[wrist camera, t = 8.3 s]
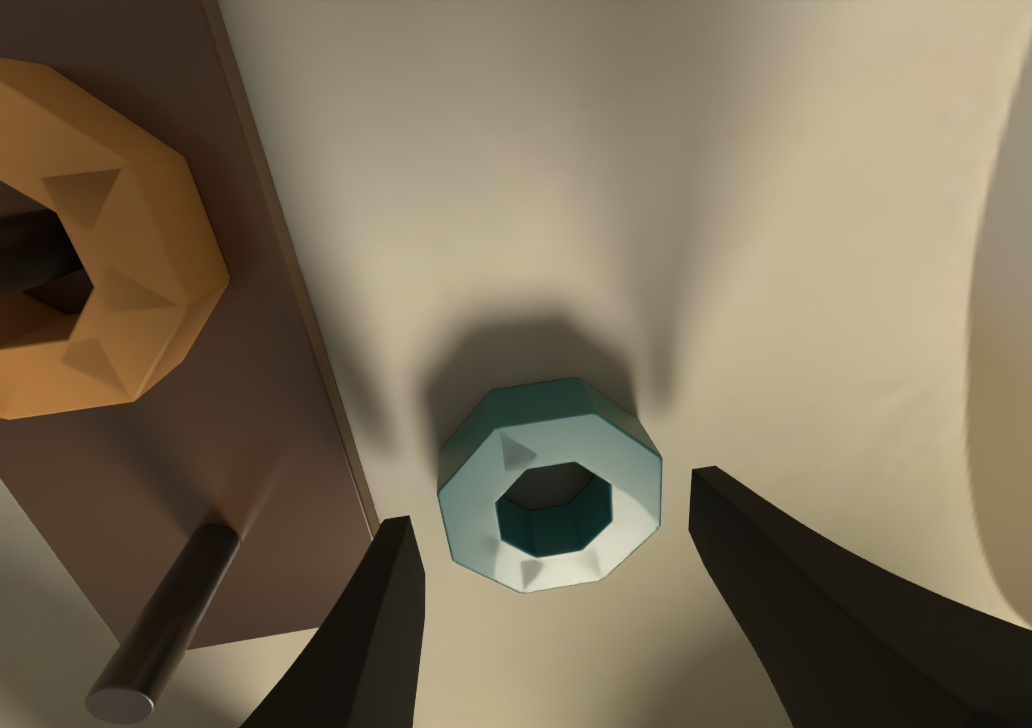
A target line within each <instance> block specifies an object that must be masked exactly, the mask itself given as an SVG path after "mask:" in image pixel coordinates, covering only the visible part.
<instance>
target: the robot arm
mask: <svg viewBox="0 0 1032 728" xmlns="http://www.w3.org/2000/svg"><path fill="white" fill-rule="evenodd" d="M688 530H689V532H690V534H691V537H692V539H693V541H694V544H695V546H696V548H697V551H698V553H699V555H700V557H701V559H702V562H703V564H704V566H705V568H706V570H707V571H708V573H709V575H710V576H711V578H712V580H713V582H714V583H715V585H716V587H717V588H718V590H719V592H720V593H721V595H722V597H723V598H724V600H725V602H726V603H727V605H728V607H729V608H730V610H731V612H732V613H733V615H734V617H735V618H736V620H737V622H738V623H739V625H740V627H741V628H742V630H743V632H744V633H745V635H746V636H747V638H748V640H749V641H750V643H751V645H752V646H753V648H754V650H755V651H756V653H757V655H758V657H759V659H760V660H761V662H762V664H763V666H764V668H765V670H766V671H767V673H768V675H769V677H770V680H771V682H772V684H773V686H774V688H775V690H776V692H777V694H778V696H779V698H780V700H781V702H782V704H783V706H784V708H785V710H786V712H787V714H788V717H789V719H790V721H791V723H792V725H793V727H794V728H1032V630H1029V629H1026V628H1023V627H1020V626H1017V625H1015V624H1012V623H1009V622H1007V621H1004V620H1001V619H999V618H996V617H994V616H991V615H988V614H986V613H983V612H980V611H978V610H975V609H973V608H970V607H968V606H965V605H963V604H960V603H958V602H955V601H953V600H951V599H948V598H946V597H943V596H941V595H939V594H937V593H934V592H932V591H930V590H928V589H925V588H923V587H921V586H919V585H916V584H914V583H912V582H910V581H907V580H905V579H903V578H901V577H899V576H897V575H895V574H893V573H891V572H888V571H886V570H884V569H883V568H881V567H879V566H877V565H875V564H873V563H871V562H869V561H867V560H865V559H863V558H861V557H859V556H857V555H855V554H853V553H852V552H850V551H848V550H846V549H844V548H842V547H841V546H839V545H837V544H835V543H834V542H832V541H830V540H829V539H827V538H825V537H823V536H822V535H820V534H818V533H817V532H815V531H813V530H812V529H810V528H808V527H807V526H805V525H803V524H802V523H800V522H799V521H797V520H795V519H794V518H792V517H791V516H789V515H788V514H786V513H785V512H783V511H782V510H780V509H778V508H777V507H775V506H774V505H772V504H771V503H769V502H768V501H766V500H765V499H763V498H762V497H761V496H759V495H758V494H756V493H755V492H753V491H752V490H750V489H749V488H747V487H746V486H745V485H743V484H742V483H740V482H739V481H737V480H736V479H734V478H733V477H731V476H730V475H729V474H727V473H726V472H724V471H723V470H721V469H720V468H718V467H717V466H710V467H704V468H698V469H692V479H691V495H690V512H689V528H688ZM424 620H425V572H424V568H423V564H422V560H421V557H420V553H419V549H418V546H417V542H416V538H415V534H414V531H413V527H412V523H411V520H410V516H409V515H408V516H402V517H396V518H390V519H385V520H384V521H383V522H382V523H381V525H380V527H379V529H378V531H377V533H376V535H375V536H374V538H373V540H372V542H371V544H370V546H369V548H368V550H367V551H366V553H365V555H364V557H363V559H362V560H361V562H360V564H359V566H358V567H357V569H356V571H355V572H354V574H353V576H352V577H351V579H350V581H349V582H348V584H347V586H346V587H345V589H344V591H343V592H342V594H341V596H340V597H339V599H338V600H337V602H336V603H335V605H334V606H333V608H332V609H331V611H330V612H329V614H328V615H327V617H326V618H325V620H324V621H323V623H322V624H321V626H320V627H319V629H318V630H317V632H316V633H315V635H314V636H313V637H312V639H311V640H310V642H309V643H308V644H307V646H306V647H305V648H304V650H303V651H302V653H301V654H300V655H299V656H298V658H297V659H296V660H295V662H294V663H293V664H292V666H291V667H290V668H289V669H288V671H287V672H286V673H285V675H284V676H283V677H282V678H281V679H280V681H279V682H278V683H277V684H276V685H275V687H274V688H273V689H272V690H271V691H270V693H269V694H268V695H267V696H266V697H265V699H264V700H263V701H262V702H261V703H260V705H259V706H258V707H257V708H256V709H255V710H254V711H253V713H252V714H251V715H250V716H249V717H248V718H247V719H246V720H245V722H244V723H243V724H242V725H241V726H240V727H239V728H413V716H414V707H415V698H416V690H417V681H418V673H419V664H420V656H421V647H422V638H423V630H424Z"/></svg>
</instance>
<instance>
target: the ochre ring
mask: <svg viewBox="0 0 1032 728" xmlns="http://www.w3.org/2000/svg"><path fill="white" fill-rule="evenodd" d="M0 180H1V181H2V182H4V183H6V184H7V185H9V186H11V187H13V188H14V189H16V190H18V191H20V192H21V193H23V194H25V195H27V196H28V197H30V198H32V199H34V200H35V201H37V202H39V203H40V204H42V205H44V206H46V207H47V208H49V209H51V210H53V211H54V212H56V213H57V215H58V217H59V219H60V221H61V223H62V225H63V227H64V229H65V230H66V232H67V234H68V236H69V238H70V240H71V242H72V244H73V246H74V248H75V250H76V252H77V254H78V256H79V258H80V260H81V262H82V264H83V266H84V268H85V270H86V272H87V274H88V276H89V278H90V280H91V282H92V284H93V286H94V288H93V290H92V292H91V294H90V296H89V298H88V300H87V302H86V304H85V306H84V308H83V310H82V312H81V313H78V314H71V315H66V314H64V313H62V312H60V311H58V310H56V309H54V308H52V307H50V306H48V305H46V304H44V303H42V302H40V301H38V300H36V299H35V298H33V297H31V296H29V295H27V294H25V293H23V292H20V293H17V294H14V295H12V296H9V297H6V298H4V299H1V300H0V418H3V419H8V420H10V419H17V418H24V417H31V416H38V415H45V414H52V413H59V412H66V411H72V410H79V409H86V408H93V407H100V406H107V405H114V404H121V403H128V402H134V401H136V400H137V399H138V398H139V397H141V396H142V395H143V394H144V393H145V392H147V391H148V390H149V389H150V388H151V387H152V386H154V385H155V384H156V383H157V382H158V381H160V380H161V379H162V378H163V377H164V376H166V375H167V374H168V373H169V372H170V371H171V370H173V369H174V368H175V367H176V366H177V365H179V364H180V363H181V362H182V361H183V360H184V358H185V356H186V355H187V353H188V351H189V350H190V348H191V346H192V345H193V343H194V341H195V340H196V338H197V336H198V334H199V333H200V331H201V329H202V328H203V326H204V324H205V323H206V321H207V319H208V318H209V316H210V314H211V312H212V311H213V309H214V307H215V306H216V304H217V302H218V301H219V299H220V297H221V296H222V294H223V292H224V290H225V289H226V287H227V285H228V284H229V279H230V275H229V272H228V270H227V267H226V264H225V262H224V259H223V256H222V254H221V251H220V249H219V246H218V243H217V241H216V238H215V235H214V233H213V230H212V227H211V225H210V222H209V219H208V217H207V214H206V211H205V209H204V206H203V203H202V201H201V198H200V195H199V193H198V190H197V188H196V185H195V182H194V180H193V177H192V174H191V172H190V169H189V166H188V164H187V161H186V159H185V158H184V157H183V155H181V154H180V153H178V152H177V151H175V150H174V149H172V148H171V147H169V146H168V145H166V144H165V143H163V142H162V141H160V140H159V139H157V138H156V137H154V136H153V135H151V134H150V133H148V132H147V131H145V130H144V129H142V128H141V127H139V126H138V125H136V124H135V123H133V122H132V121H130V120H129V119H127V118H126V117H124V116H123V115H121V114H120V113H118V112H117V111H115V110H114V109H112V108H111V107H109V106H108V105H106V104H105V103H103V102H102V101H100V100H99V99H97V98H96V97H94V96H93V95H91V94H90V93H88V92H87V91H85V90H84V89H82V88H81V87H79V86H78V85H76V84H75V83H73V82H72V81H70V80H69V79H67V78H66V77H64V76H63V75H61V74H60V73H58V72H57V71H55V70H54V69H52V68H51V67H49V66H47V65H43V64H38V63H31V62H25V61H19V60H12V59H6V58H0Z"/></svg>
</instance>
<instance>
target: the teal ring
mask: <svg viewBox="0 0 1032 728" xmlns="http://www.w3.org/2000/svg"><path fill="white" fill-rule="evenodd" d="M570 462H576V463H578V464H579V465H581V466H582V467H584V468H586V469H587V470H589V471H590V472H592V473H594V479H593V480H592V481H591V482H590V483H589V484H588V485H587V486H586V487H585V488H584V489H583V490H582V491H581V492H580V493H579V494H578V495H577V496H576V497H575V498H574V499H573V500H572V501H571V502H570V503H569V504H568V505H563V506H557V507H551V508H545V509H538V510H532V511H527V510H525V509H523V508H521V507H519V506H518V505H516V504H514V503H512V502H510V501H509V500H507V499H505V498H503V497H501V496H502V495H503V494H504V493H505V492H506V491H507V490H508V489H509V488H510V487H511V485H512V484H513V483H514V482H515V481H516V480H517V479H518V478H519V477H520V476H521V475H522V474H523V473H524V471H525V470H526V469H532V468H539V467H545V466H551V465H558V464H564V463H570ZM661 493H662V457H661V455H660V453H659V451H658V450H657V448H656V447H655V445H654V443H653V442H652V440H651V439H650V437H649V435H648V434H647V432H646V431H645V429H644V427H643V426H642V424H641V423H640V421H639V420H638V419H637V418H636V417H634V416H633V415H631V414H630V413H628V412H627V411H626V410H624V409H623V408H621V407H620V406H619V405H617V404H616V403H614V402H613V401H612V400H610V399H609V398H607V397H606V396H604V395H603V394H602V393H600V392H599V391H597V390H596V389H595V388H593V387H592V386H590V385H589V384H588V383H586V382H585V381H583V380H582V379H578V378H571V379H564V380H558V381H551V382H544V383H538V384H531V385H524V386H518V387H511V388H504V389H497V390H493V391H490V392H489V393H488V394H487V395H486V396H485V398H484V399H483V400H482V401H481V402H480V404H479V405H478V406H477V407H476V408H475V409H474V411H473V412H472V413H471V414H470V415H469V417H468V418H467V419H466V420H465V421H464V422H463V424H462V425H461V426H460V427H459V428H458V430H457V431H456V432H455V433H454V434H453V435H452V437H451V438H450V439H449V440H448V441H447V443H446V444H445V445H444V446H443V447H442V448H441V450H440V452H439V465H438V483H437V497H438V501H439V505H440V510H441V514H442V518H443V523H444V527H445V531H446V536H447V540H448V544H449V548H450V553H451V557H452V560H453V561H454V562H456V563H457V564H459V565H462V566H464V567H466V568H468V569H470V570H472V571H474V572H476V573H478V574H481V575H483V576H485V577H487V578H489V579H491V580H493V581H495V582H497V583H500V584H502V585H504V586H506V587H508V588H510V589H512V590H514V591H517V592H519V593H521V592H522V593H530V592H536V591H542V590H547V589H553V588H559V587H565V586H571V585H577V584H583V583H588V582H594V581H600V580H602V579H604V578H605V577H606V576H607V575H609V574H610V573H611V572H612V571H613V570H614V569H615V568H616V567H617V566H618V565H620V564H621V563H622V562H623V561H624V560H625V559H626V558H627V557H628V556H629V555H631V554H632V553H633V552H634V551H635V550H636V549H637V548H638V547H639V546H640V545H641V544H643V543H644V542H645V541H646V540H647V539H648V538H649V537H650V536H651V535H652V534H654V533H655V532H656V531H657V530H658V529H659V527H660V526H661Z"/></svg>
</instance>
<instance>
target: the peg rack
mask: <svg viewBox="0 0 1032 728" xmlns="http://www.w3.org/2000/svg"><path fill="white" fill-rule="evenodd" d="M0 58H6V59H12V60H19V61H25V62H31V63H38V64H43V65H47V66H49V67H51V68H52V69H54V70H55V71H57V72H58V73H60V74H61V75H63V76H64V77H66V78H67V79H69V80H70V81H72V82H73V83H75V84H76V85H78V86H79V87H81V88H82V89H84V90H85V91H87V92H88V93H90V94H91V95H93V96H94V97H96V98H97V99H99V100H100V101H102V102H103V103H105V104H106V105H108V106H109V107H111V108H112V109H114V110H115V111H117V112H118V113H120V114H121V115H123V116H124V117H126V118H127V119H129V120H130V121H132V122H133V123H135V124H136V125H138V126H139V127H141V128H142V129H144V130H145V131H147V132H148V133H150V134H151V135H153V136H154V137H156V138H157V139H159V140H160V141H162V142H163V143H165V144H166V145H168V146H169V147H171V148H172V149H174V150H175V151H177V152H178V153H180V154H181V155H183V157H184V158H185V159H186V161H187V164H188V166H189V169H190V172H191V174H192V177H193V180H194V182H195V185H196V188H197V190H198V193H199V195H200V198H201V201H202V203H203V206H204V209H205V211H206V214H207V217H208V219H209V222H210V225H211V227H212V230H213V233H214V235H215V238H216V241H217V243H218V246H219V249H220V251H221V254H222V256H223V259H224V262H225V264H226V267H227V270H228V272H229V275H230V279H229V284H228V285H227V287H226V289H225V290H224V292H223V294H222V296H221V297H220V299H219V301H218V302H217V304H216V306H215V307H214V309H213V311H212V312H211V314H210V316H209V318H208V319H207V321H206V323H205V324H204V326H203V328H202V329H201V331H200V333H199V334H198V336H197V338H196V340H195V341H194V343H193V345H192V346H191V348H190V350H189V351H188V353H187V355H186V356H185V358H184V360H183V361H182V362H181V363H180V364H179V365H177V366H176V367H175V368H174V369H173V370H171V371H170V372H169V373H168V374H167V375H166V376H164V377H163V378H162V379H161V380H160V381H158V382H157V383H156V384H155V385H154V386H152V387H151V388H150V389H149V390H148V391H147V392H145V393H144V394H143V395H142V396H141V397H139V398H138V399H137V400H136V401H134V402H128V403H121V404H114V405H107V406H100V407H93V408H86V409H79V410H72V411H66V412H59V413H52V414H45V415H38V416H31V417H24V418H17V419H10V420H8V419H3V418H0V478H1V480H2V481H3V483H4V484H5V485H6V487H7V488H8V489H9V491H10V492H11V494H12V495H13V496H14V498H15V499H16V500H17V502H18V503H19V505H20V506H21V507H22V509H23V510H24V512H25V513H26V514H27V516H28V517H29V518H30V520H31V521H32V523H33V524H34V525H35V527H36V528H37V529H38V531H39V532H40V534H41V535H42V536H43V538H44V539H45V540H46V542H47V543H48V545H49V546H50V547H51V549H52V550H53V552H54V553H55V554H56V556H57V557H58V558H59V560H60V561H61V563H62V564H63V565H64V567H65V568H66V569H67V571H68V572H69V574H70V575H71V576H72V578H73V579H74V580H75V582H76V583H77V585H78V586H79V587H80V589H81V590H82V592H83V593H84V594H85V596H86V597H87V598H88V600H89V601H90V603H91V604H92V605H93V607H94V608H95V609H96V611H97V612H98V614H99V615H100V616H101V618H102V619H103V620H104V622H105V623H106V625H107V626H108V627H109V629H110V630H111V632H112V633H113V634H114V636H115V637H116V638H117V640H118V641H119V643H120V646H119V647H118V649H117V650H116V652H115V653H114V655H113V656H112V658H111V659H110V661H109V662H108V664H107V665H106V667H105V669H104V670H103V672H102V673H101V675H100V676H99V678H98V679H97V681H96V682H95V684H94V685H93V687H92V688H91V690H90V691H89V693H88V694H87V696H86V700H85V707H86V709H87V710H88V712H89V713H90V714H91V715H93V716H94V717H96V718H98V719H100V720H102V721H105V722H108V723H113V724H134V723H138V722H141V721H144V720H146V719H147V718H149V717H150V716H151V715H152V714H153V713H154V711H155V710H156V708H157V706H158V704H159V702H160V700H161V698H162V696H163V694H164V692H165V690H166V688H167V687H168V685H169V683H170V681H171V679H172V677H173V675H174V673H175V671H176V669H177V667H178V665H179V663H180V662H181V660H182V658H183V656H184V654H185V652H186V650H190V649H196V648H202V647H208V646H213V645H219V644H225V643H231V642H237V641H243V640H249V639H254V638H260V637H266V636H272V635H278V634H284V633H290V632H296V631H301V630H307V629H313V628H319V627H320V626H321V624H322V623H323V621H324V620H325V618H326V617H327V615H328V614H329V612H330V611H331V609H332V608H333V606H334V605H335V603H336V602H337V600H338V599H339V597H340V596H341V594H342V592H343V591H344V589H345V587H346V586H347V584H348V582H349V581H350V579H351V577H352V576H353V574H354V572H355V571H356V569H357V567H358V566H359V564H360V562H361V560H362V559H363V557H364V555H365V553H366V551H367V550H368V548H369V546H370V544H371V542H372V540H373V538H374V536H375V535H376V533H377V531H378V529H379V527H380V525H379V522H378V519H377V516H376V513H375V509H374V506H373V503H372V500H371V496H370V493H369V490H368V487H367V483H366V480H365V477H364V474H363V471H362V467H361V464H360V461H359V458H358V454H357V451H356V448H355V445H354V442H353V438H352V435H351V432H350V429H349V425H348V422H347V419H346V416H345V413H344V409H343V406H342V403H341V400H340V396H339V393H338V390H337V387H336V383H335V380H334V377H333V374H332V371H331V367H330V364H329V361H328V358H327V354H326V351H325V348H324V345H323V342H322V338H321V335H320V332H319V329H318V325H317V322H316V319H315V316H314V313H313V309H312V306H311V303H310V300H309V296H308V293H307V290H306V287H305V283H304V280H303V277H302V274H301V271H300V267H299V264H298V261H297V258H296V254H295V251H294V248H293V245H292V242H291V238H290V235H289V232H288V229H287V225H286V222H285V219H284V216H283V213H282V209H281V206H280V203H279V200H278V196H277V193H276V190H275V187H274V183H273V180H272V177H271V174H270V171H269V167H268V164H267V161H266V158H265V154H264V151H263V148H262V145H261V142H260V138H259V135H258V132H257V129H256V125H255V122H254V119H253V116H252V113H251V109H250V106H249V103H248V100H247V96H246V93H245V90H244V87H243V84H242V80H241V77H240V74H239V71H238V67H237V64H236V61H235V58H234V54H233V51H232V48H231V45H230V42H229V38H228V35H227V32H226V29H225V25H224V22H223V19H222V16H221V13H220V9H219V6H218V3H217V0H0ZM93 288H94V286H93V284H92V282H91V280H90V278H89V276H88V274H87V272H86V270H85V268H84V266H83V264H82V262H81V260H80V258H79V256H78V254H77V252H76V250H75V248H74V246H73V244H72V242H71V240H70V238H69V236H68V234H67V232H66V230H65V229H64V227H63V225H62V223H61V221H60V219H59V217H58V215H57V213H56V212H54V211H53V210H51V209H49V208H47V207H46V206H44V205H42V204H40V203H39V202H37V201H35V200H34V199H32V198H30V197H28V196H27V195H25V194H23V193H21V192H20V191H18V190H16V189H14V188H13V187H11V186H9V185H7V184H6V183H4V182H2V181H1V180H0V300H1V299H4V298H6V297H9V296H12V295H14V294H17V293H20V292H23V293H25V294H27V295H29V296H31V297H33V298H35V299H36V300H38V301H40V302H42V303H44V304H46V305H48V306H50V307H52V308H54V309H56V310H58V311H60V312H62V313H64V314H66V315H71V314H78V313H81V312H82V310H83V308H84V306H85V304H86V302H87V300H88V298H89V296H90V294H91V292H92V290H93Z"/></svg>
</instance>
